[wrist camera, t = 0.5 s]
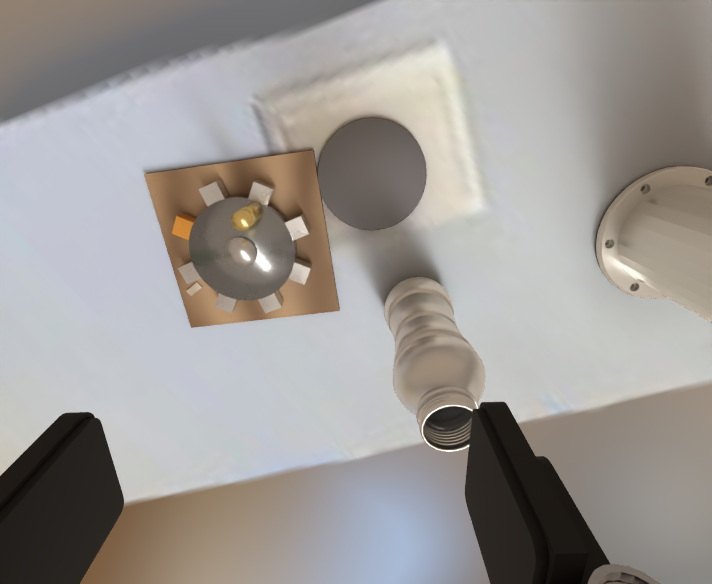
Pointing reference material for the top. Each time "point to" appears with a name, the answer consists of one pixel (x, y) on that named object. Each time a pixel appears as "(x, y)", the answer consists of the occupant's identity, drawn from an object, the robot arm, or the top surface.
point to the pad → (372, 174)
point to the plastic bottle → (433, 363)
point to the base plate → (290, 198)
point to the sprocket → (243, 246)
